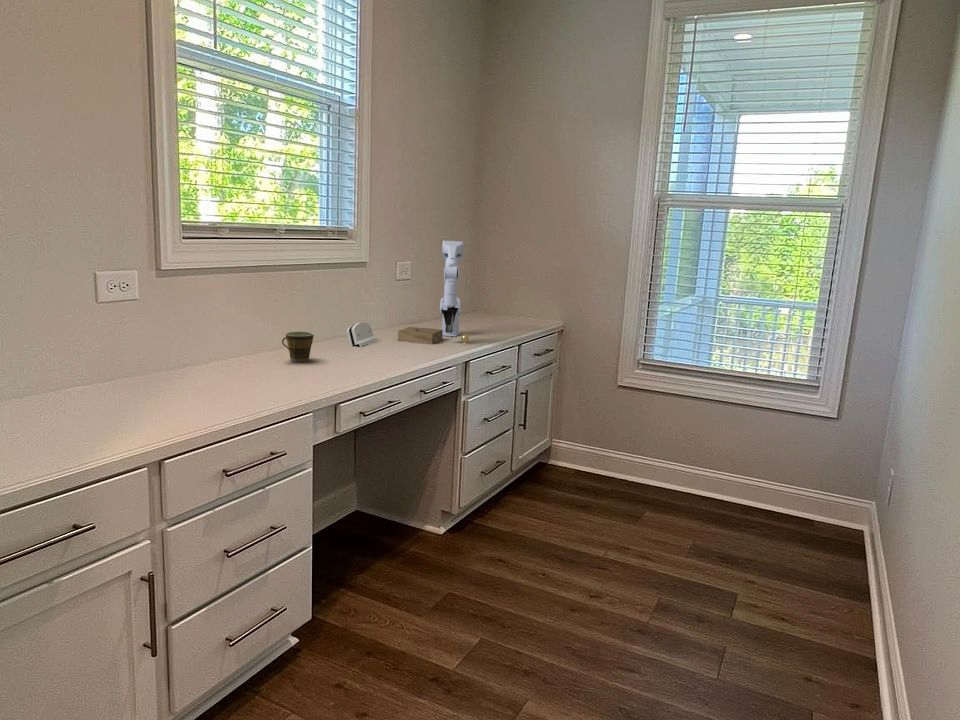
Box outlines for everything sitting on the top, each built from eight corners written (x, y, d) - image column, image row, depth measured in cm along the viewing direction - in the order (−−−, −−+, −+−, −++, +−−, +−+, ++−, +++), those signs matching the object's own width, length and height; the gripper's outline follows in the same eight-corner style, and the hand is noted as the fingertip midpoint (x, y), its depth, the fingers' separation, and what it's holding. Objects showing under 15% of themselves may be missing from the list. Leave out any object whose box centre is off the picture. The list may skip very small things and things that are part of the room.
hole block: (409, 336, 318) (409, 326, 317) (442, 339, 314) (442, 329, 313) (397, 340, 305) (398, 330, 304) (431, 344, 301) (432, 334, 300)
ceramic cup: (301, 356, 262) (301, 330, 260) (319, 360, 257) (319, 334, 255) (273, 361, 252) (273, 334, 250) (291, 365, 246) (291, 338, 244)
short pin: (462, 342, 309) (463, 333, 308) (469, 343, 308) (469, 334, 307) (460, 343, 306) (460, 334, 305) (467, 344, 305) (467, 335, 304)
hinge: (360, 347, 286) (353, 324, 285) (351, 350, 288) (343, 326, 287) (378, 341, 302) (371, 319, 301) (369, 343, 304) (362, 321, 303)
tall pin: (446, 331, 308) (447, 311, 306) (453, 331, 307) (454, 311, 305) (444, 332, 305) (445, 312, 303) (451, 333, 304) (452, 312, 302)
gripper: (447, 291, 311) (446, 321, 313) (436, 294, 297) (435, 325, 300) (462, 292, 309) (460, 322, 312) (452, 295, 295) (450, 327, 298)
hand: (449, 324), depth 306 cm, fingers closed on tall pin, 3 cm apart
